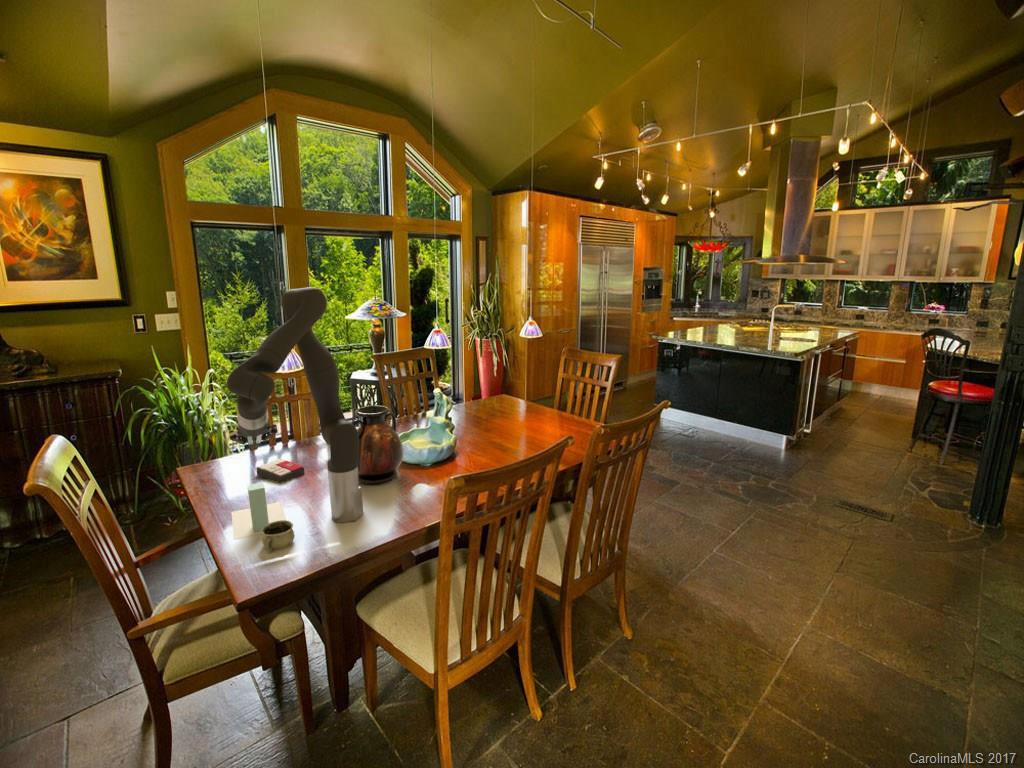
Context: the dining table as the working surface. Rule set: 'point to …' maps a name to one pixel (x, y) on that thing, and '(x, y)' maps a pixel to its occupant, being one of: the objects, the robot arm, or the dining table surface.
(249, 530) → the mat
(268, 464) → the calculator
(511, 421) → the dining table surface
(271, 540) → the vessel
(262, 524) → the block
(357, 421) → the amphora vase
